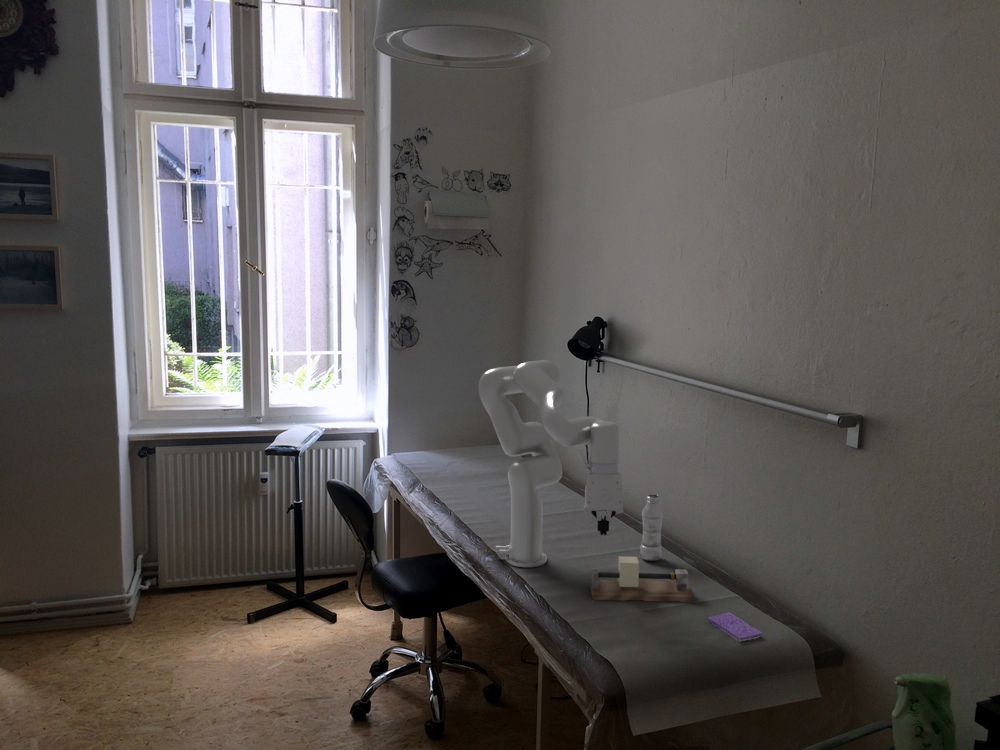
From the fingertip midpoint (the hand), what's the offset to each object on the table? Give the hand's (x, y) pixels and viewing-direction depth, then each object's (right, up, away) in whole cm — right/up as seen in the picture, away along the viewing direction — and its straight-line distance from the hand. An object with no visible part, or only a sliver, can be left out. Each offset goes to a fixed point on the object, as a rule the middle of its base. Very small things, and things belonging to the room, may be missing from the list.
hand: (603, 533), depth 215 cm
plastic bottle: (+18, -14, +27) cm, 35 cm away
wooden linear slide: (+10, -17, +2) cm, 20 cm away
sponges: (+30, -21, -18) cm, 41 cm away
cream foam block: (+7, -14, +2) cm, 16 cm away
